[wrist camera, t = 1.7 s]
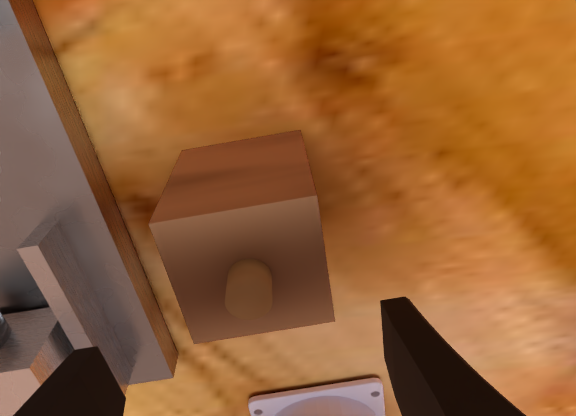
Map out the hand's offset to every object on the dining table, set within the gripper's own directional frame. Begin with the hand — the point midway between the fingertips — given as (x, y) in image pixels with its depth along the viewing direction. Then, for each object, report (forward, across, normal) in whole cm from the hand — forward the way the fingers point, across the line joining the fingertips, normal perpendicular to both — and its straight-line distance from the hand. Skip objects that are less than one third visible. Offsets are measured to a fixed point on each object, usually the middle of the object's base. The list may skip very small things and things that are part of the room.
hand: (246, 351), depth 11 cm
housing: (+9, 0, 0) cm, 9 cm away
